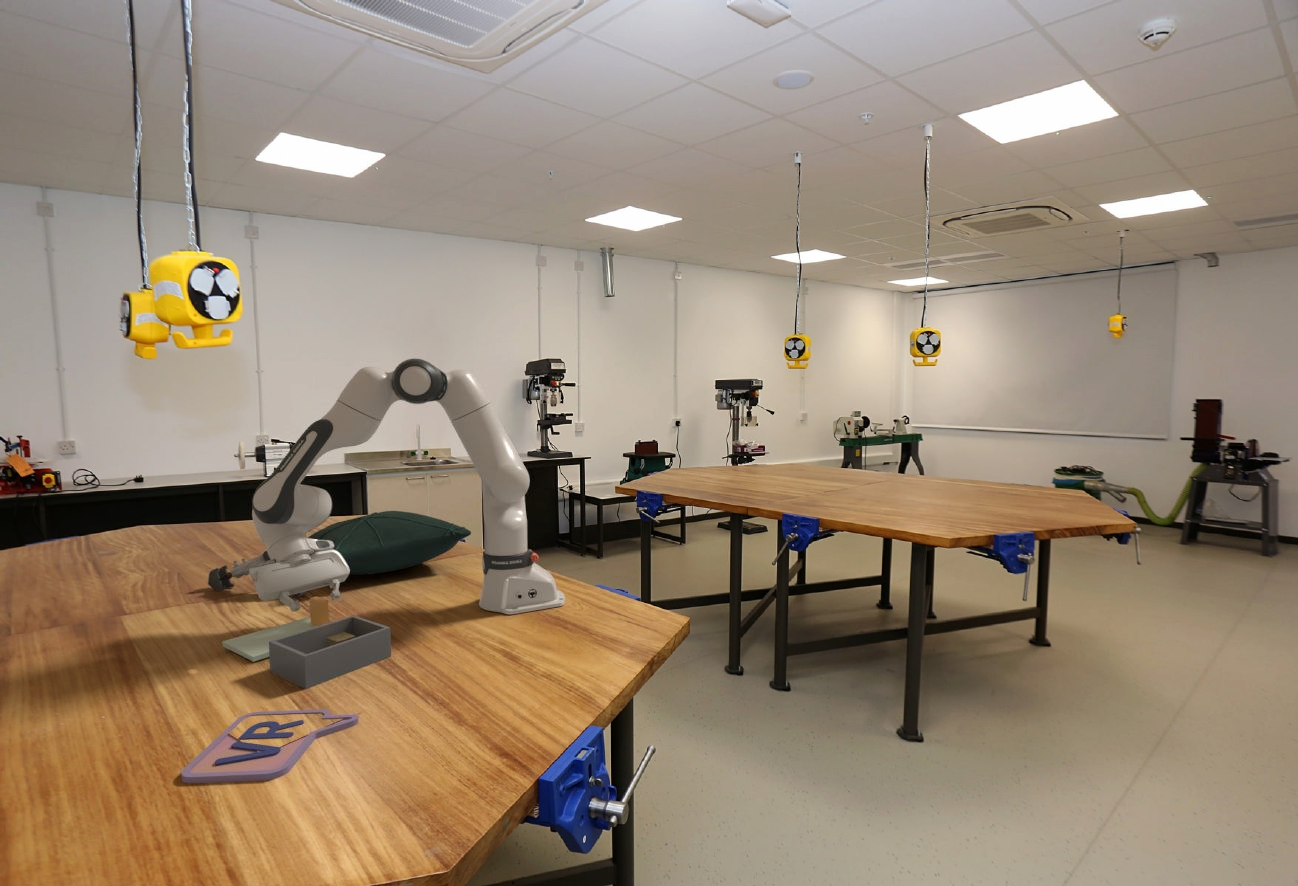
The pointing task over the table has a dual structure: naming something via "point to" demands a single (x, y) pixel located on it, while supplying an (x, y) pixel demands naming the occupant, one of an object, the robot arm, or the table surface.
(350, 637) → the brass block
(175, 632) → the table surface
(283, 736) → the icon
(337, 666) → the tub
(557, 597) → the robot arm
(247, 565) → the grey mechanical piece
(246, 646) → the lid
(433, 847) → the table surface
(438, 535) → the pillow
